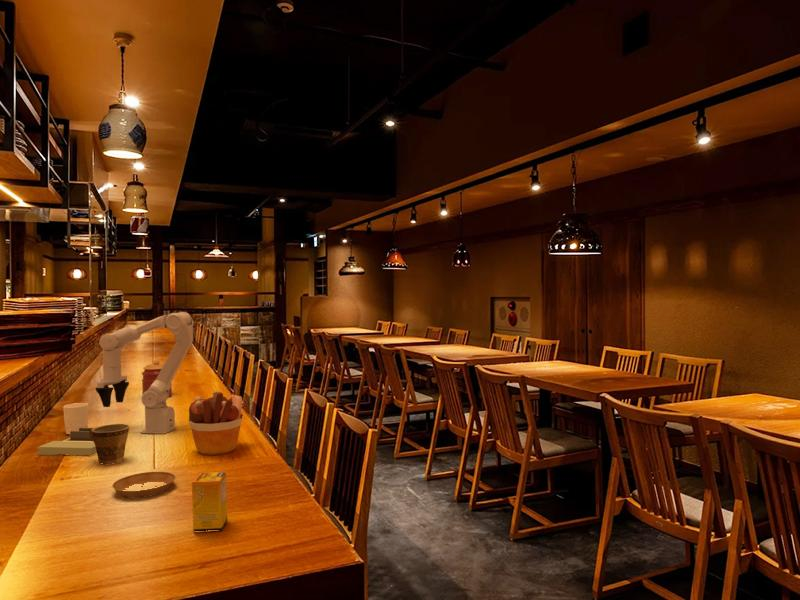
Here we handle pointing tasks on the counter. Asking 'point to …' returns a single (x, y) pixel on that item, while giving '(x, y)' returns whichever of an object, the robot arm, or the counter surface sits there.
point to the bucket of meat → (215, 423)
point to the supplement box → (209, 501)
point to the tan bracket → (68, 448)
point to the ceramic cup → (110, 442)
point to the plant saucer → (142, 479)
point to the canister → (151, 375)
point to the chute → (81, 435)
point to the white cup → (75, 416)
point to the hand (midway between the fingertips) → (113, 404)
